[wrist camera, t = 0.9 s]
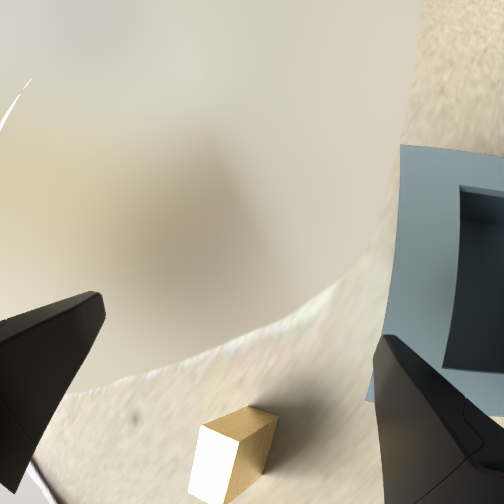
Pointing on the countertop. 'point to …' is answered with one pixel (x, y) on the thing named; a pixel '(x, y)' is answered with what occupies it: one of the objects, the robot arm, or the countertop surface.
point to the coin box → (451, 269)
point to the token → (231, 454)
